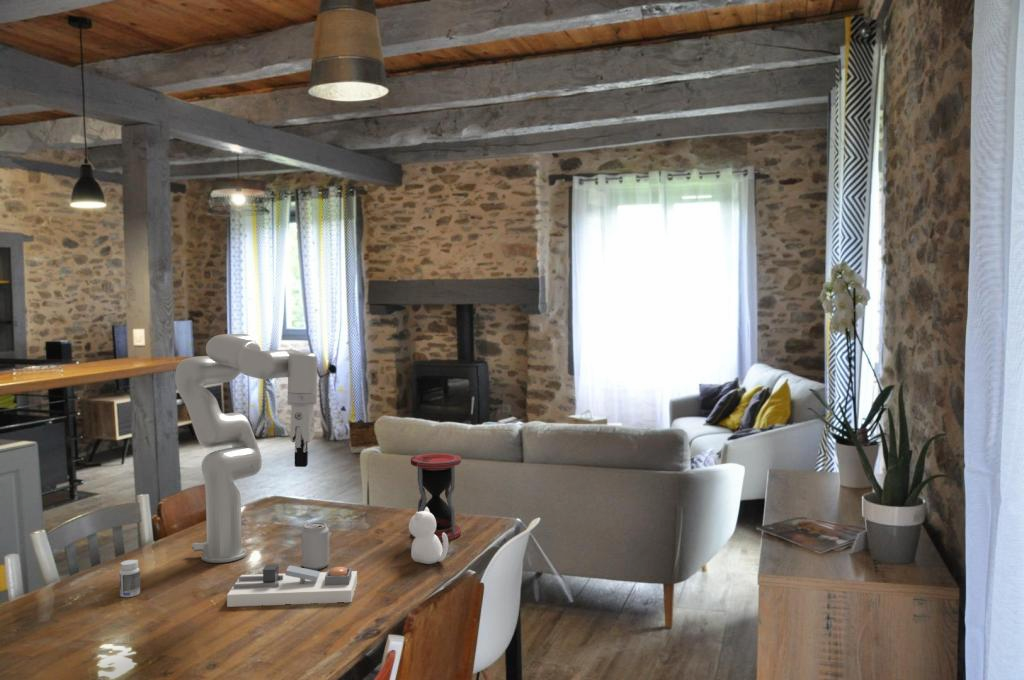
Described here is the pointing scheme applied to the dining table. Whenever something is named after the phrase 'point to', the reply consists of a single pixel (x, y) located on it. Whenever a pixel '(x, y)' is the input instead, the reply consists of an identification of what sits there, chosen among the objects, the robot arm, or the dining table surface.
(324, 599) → the panel
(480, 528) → the dining table surface
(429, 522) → the cat figurine
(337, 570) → the button
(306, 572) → the slate rocker
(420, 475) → the hourglass
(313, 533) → the can
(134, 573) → the pill bottle
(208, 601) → the dining table surface
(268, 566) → the slider
